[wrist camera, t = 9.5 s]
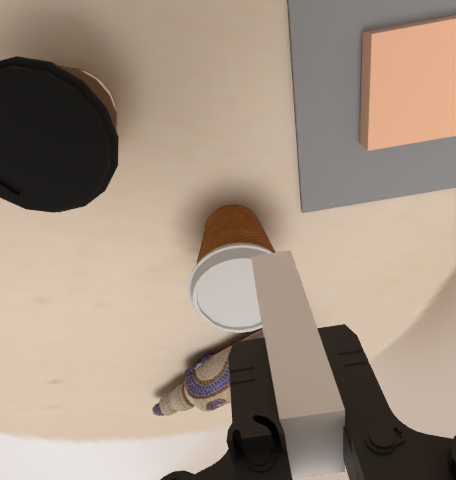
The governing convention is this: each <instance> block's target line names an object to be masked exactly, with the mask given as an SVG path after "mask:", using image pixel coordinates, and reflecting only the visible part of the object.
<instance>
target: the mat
mask: <svg viewBox="0 0 456 480" xmlns="http://www.w3.org/2000/svg"><path fill="white" fill-rule="evenodd" d="M287 1H288V16H289V31H290V46H291V61H292V76H293V91H294V106H295V121H296V136H297V151H298V166H299V181H300V197H301V211H302V213H305V212H311V211H317V210H323V209H329V208H335V207H341V206H347V205H353V204H359V203H365V202H371V201H377V200H383V199H390V198H396V197H402V196H408V195H414V194H420V193H426V192H432V191H438V190H444V189H450V188H456V136H452V137H446V138H440V139H434V140H429V141H423V142H417V143H411V144H405V145H399V146H394V147H388V148H382V149H376V150H370V151H367V150H366V149H365V148H364V147H363V146H362V145H361V144H360V117H361V74H362V32H366V31H371V30H377V29H382V28H388V27H393V26H398V25H404V24H409V23H415V22H420V21H425V20H431V19H436V18H442V17H447V16H453V15H456V0H287Z"/></svg>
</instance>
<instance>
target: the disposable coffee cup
mask: <svg viewBox="0 0 456 480" xmlns="http://www.w3.org/2000/svg"><path fill="white" fill-rule="evenodd" d="M271 253H275V251H274V249H273V247H272V245H271V243H270V241H269V239H268V237H267V235H266V233H265V231H264V230H263V228H262V226H261V224H260V222H259V220H258V218H257V216H256V215H255V214H254V213H253V212H252V211H251V210H249V209H247V208H245V207H242V206H237V205H231V206H225V207H222V208H220V209H218V210H216V211H215V212H214V213H213V214H212V215H211V216H210V217H209V219H208V221H207V223H206V227H205V232H204V236H203V240H202V244H201V248H200V252H199V256H198V260H197V264H196V266H195V267H194V269H193V270H192V273H191V275H190V277H189V281H188V295H189V299H190V301H191V303H192V305H193V307H194V308H195V310H196V312H197V313H198V315H199V316H200V318H201V319H202V320H203V321H205V322H206V323H207V324H208V325H210V326H212V327H214V328H216V329H219V330H222V331H228V332H234V333H243V332H250V331H254V330H257V329H260V328H262V323H261V318H260V312H259V306H258V299H257V293H256V287H255V280H254V274H253V268H252V261H251V257H253V256H259V255H265V254H271Z"/></svg>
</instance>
